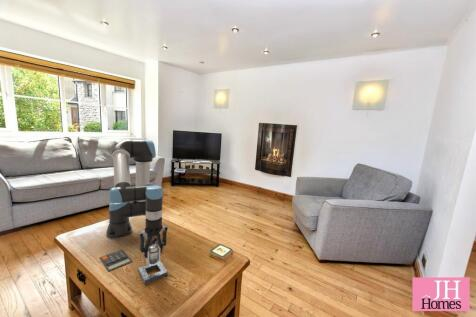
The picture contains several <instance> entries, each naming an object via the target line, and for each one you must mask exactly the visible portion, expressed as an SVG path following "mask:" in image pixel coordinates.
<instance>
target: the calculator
mask: <svg viewBox="0 0 476 317" xmlns="http://www.w3.org/2000/svg"><path fill="white" fill-rule="evenodd" d="M99 260H100V262H101V263H102V264H103V265H104V267H105V268H106V270H107V272H112V271H114V270H116V269H119V268H121V267H123V266H126V265H128V264H131V263H133V260H132V259H131V257H130V256H129V255H128V254H127V252H125V250H123V248H121V249H119V250H115V251H114V252H111V253H108V254H106V255H101V256H100V257H99Z"/></svg>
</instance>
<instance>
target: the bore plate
mask: <svg viewBox="0 0 476 317" xmlns="http://www.w3.org/2000/svg"><path fill="white" fill-rule="evenodd" d="M137 269H138V270H137V271H138V274H139V276H140V277H141V280H142V282H143V284H144V285H147V284H150V283H152V282H155V281H157V280H160V279H162V278H164V277H167V276H168V270H167V268H166V267H165V265H164V264H163V263H162V261H161V260H160V261H159V260H158V262H157V263H156V264H145V265H142V266H139V267H138V268H137ZM155 269H157V271H158V272H155V273H152V274H150V275H149V274H148V271H152V270H155Z"/></svg>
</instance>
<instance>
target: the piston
mask: <svg viewBox="0 0 476 317" xmlns="http://www.w3.org/2000/svg"><path fill="white" fill-rule="evenodd" d="M158 261H159V260H158V245H151V246H149V264H156V263H157V262H158Z"/></svg>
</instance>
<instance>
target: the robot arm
mask: <svg viewBox="0 0 476 317" xmlns="http://www.w3.org/2000/svg"><path fill="white" fill-rule="evenodd" d="M155 147H156V146H155V143H154V142H153V140H147V139H124V140H122V141H119V142H118V143H116V144H115V145H114V146H113V148H112V150H111V159H112V160H113V183H114V184H113V185H114V186H113V187H111V188H109V202H110V203H109V204H108V206H109V207H108V211H109V212H108V215H109V216H108V217H109V218H108V220H109V221H108V222H109V223H108V226H107V229H106V232H105V234H106V235H105V236H106V237H107V238H110V239H121V238H125V237H127V236H129V235H130V234H132V232H133V226H132V225H131V222H130V218H136V217H142V216H145V228H144V230H142V231H138V235H139V250H140V253H143V256H144V258H145V262H146V265H148V264H149V250H148V249H149V245H150V241H151V239H152V237H153V236H156V238H157V240H158V244H159V246H158V261H161V254H163V249H164V247H165V246H167V233H168V229H169V227H168V226H167V225H163V196H164V190H163V186H160V185H155V184H154V183H152V182H151V183H150V174H151V173H150V172H151V163H152V162H153V160H154V158H157V157H156V156H157V154H156V148H155ZM130 159H133V161H134V163H135V186H132V182H131V172H130V170H131V169H130V163H129V162H130V161H129V160H130ZM161 231H162V234H161ZM146 234H147V238H145V235H146ZM160 235H161V238H160ZM161 239H162V242H161ZM144 244H145V247H144Z"/></svg>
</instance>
